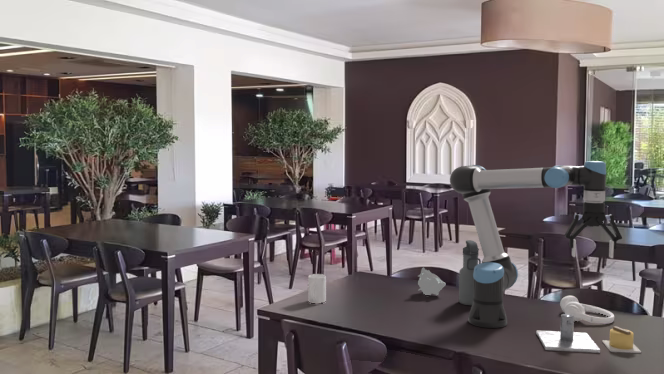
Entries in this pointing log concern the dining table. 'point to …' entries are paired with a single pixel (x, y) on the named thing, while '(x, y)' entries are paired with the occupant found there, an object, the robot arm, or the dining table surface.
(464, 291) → the water bottle
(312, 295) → the pale gray rounded block
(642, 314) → the dining table surface
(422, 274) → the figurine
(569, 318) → the post fixture
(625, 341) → the cap
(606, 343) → the mat
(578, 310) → the headphones
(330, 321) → the dining table surface
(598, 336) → the dining table surface
